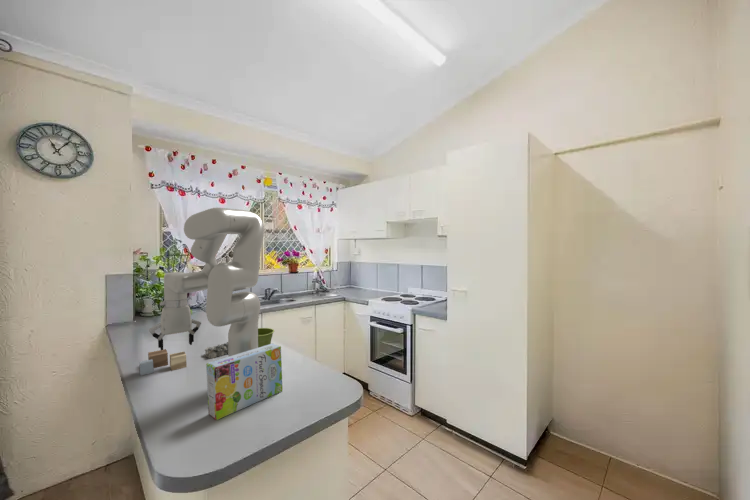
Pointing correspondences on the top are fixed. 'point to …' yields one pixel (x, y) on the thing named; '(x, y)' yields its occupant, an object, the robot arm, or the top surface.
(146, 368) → the slate cube
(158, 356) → the walnut block
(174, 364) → the maple cube
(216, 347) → the egg carton
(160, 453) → the top surface
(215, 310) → the robot arm
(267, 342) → the plant pot
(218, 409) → the snack box
